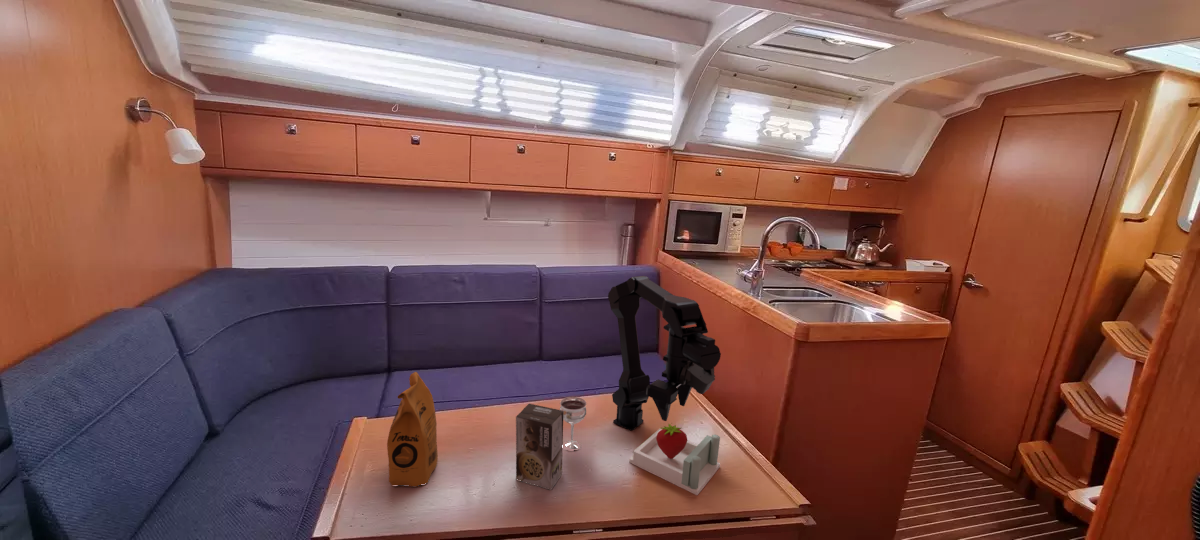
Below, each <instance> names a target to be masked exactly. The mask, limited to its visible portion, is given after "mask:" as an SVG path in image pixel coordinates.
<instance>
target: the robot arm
mask: <svg viewBox="0 0 1200 540" xmlns="http://www.w3.org/2000/svg"><path fill="white" fill-rule="evenodd" d="M607 299H608V302H609V306H610V310H611V311H612V313H613V314H614V316H615V317H616V318H617V325H618V326H617V327H618V335H619V343H620V352H621V360H622V361H621V362H622V369H623V370H622V372H621V375H620V377H619V379H618V389H617V390H616V391H614V392H613V393H612V394H611V395H612V402H613V403H614V404H615V405H616V407H617V408H616V417H615V419H613V421H612V423H613V424H615V425H618V426H620V427H621V428H624V429H627V430H628V431H634V430H635V429H637V427H639V426H640V425H642V424H643V423H644V419H643V414H644V413H643V411H644V410H643V409H642V408H643V406H642V405H643V404H647V402H648V400H649V398H651V399H652V401H653V402H654V404H655V406H656V409H657V411H658V414H659V416H660V419H661V420H662V421H663V422H667V421H668V418H669V414H670V410H671V406H672V404H673V403H674V402H676V401H677V400H678V402H679V405H680V406H682V407H685V406H686V402H687V400H688V398H689V395H690V393H691V392H692V391H691V390H692V389H694V390H695V391H696V393H698V394H700V395H704V394H705V392H707V391H708V390H710V389H711V388H710V387H711V386H712V384H713V383H714V382H715V380H716V378H715V377H716V375H715V368H716V366H717V365H718V364H719V362H720V360H721V354H722V353H721V350H720V347H719V346H718V345H716V339H715V338H713V337H709V336H707V335H705V334H708V333H709V330H708V328H707V323H706V321H705V319H704V316H703V314H702V313H703V312H702V310H701V308H700V305H699V303H698V302H697V301H696V300H694V299H691V298H689V297H685V296H678V295H674V294H672V293H671V292H670V291H668V290H666V289H664V288H663V287H662V286H660V285H658V284H657V283H656V282H654V281H652V280H650V278H649V277H648V276H646V275H641V276H640V275H639V276H638V275H637V276H632V277H630V278H628V279H627V280H626V281H623V282H621V283H619V284H617V285H615V286H612V287H611V289H610V290H609V291H608V294H607ZM640 299H644V300H645V301H647V302H648V303H650V304H651V305H653V306H654V307H655V308H657V309H658V310H659V311H660V312H661V316H662V318H663V320H664V321H666V322H667V324H665V325H664V326H663V329H664V330H665V331H667V332H668V338H667V339H668V340H667V348H666V349H667V350H666V354H665V355H664V356H662V360H663V361H665V370H663V371H661V377H662V378H666V380H667V381H665V380H661V379H656V380H654V381H653V382H651V377H650V376H649V374H646V373H645V372H644V370H643V369H642V365H641V358H640V356H641V355H640V347H639V339H638V330H637V320H636V315H637V313H638V311H639V309H640V305H641V302H640ZM693 325H694V326H693ZM686 326H689V327H686Z"/></svg>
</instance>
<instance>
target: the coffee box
mask: <svg viewBox="0 0 1200 540" xmlns="http://www.w3.org/2000/svg"><path fill="white" fill-rule="evenodd" d="M563 412H564V411H562V410H560V409H556V408H552V407H547V406H543V405H538V404H534V403H533V404H532V403H528V404H526V405H525V407H524V408H523V409H522V410H521V411H520V412H519V413H518V414H517V415H516V416H515V480H516V479H518V480H521V481H523V482H522V483H525V482H527V483H526V484H528V483H531V484H530V485H532V484H535V485H534V486H536V485H538V486H537V487H539V486H541V487H540V488H543V487H544V489H546V488H547V489H546V490H550V491H551V490H553V488H554V486H555V485H556V484H557V483H558V480H559V479H560V478H561V476H562V474H563V450H564V449H563V443H564V420H563ZM518 480H517V481H518ZM521 481H520V482H521Z"/></svg>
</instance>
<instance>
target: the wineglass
mask: <svg viewBox="0 0 1200 540" xmlns="http://www.w3.org/2000/svg"><path fill="white" fill-rule="evenodd" d="M559 404H560V408H559V410H562V411H564V412H563V422H566V423H568V424H570V440H571V441H569V440H567V441H568V442H567V443H565V446H566V447H568V448H570V449H578V448H579V447H580V444H581V443H580V442H579V441H578V442H579V443H578V442H577V440H574V428H575V425H576V424H579V423H581V422H582V420H584V419H585V417H586V415H587V401H586V400H585V399H584V398H582V397H578V396H567V397H564V398H563V399H561V400H560V403H559ZM573 440H574V441H573Z"/></svg>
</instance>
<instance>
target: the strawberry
mask: <svg viewBox="0 0 1200 540" xmlns="http://www.w3.org/2000/svg"><path fill="white" fill-rule="evenodd" d="M672 425H673V422H671V423H668V426H664V425H663V427H660V429H662V430H661V431H659V432H658V434H657V437H656V440H657V443H658V446H659V448H660V449H661V450H662V452H663V453H664V454H665V455H666V456H667V457H668V458H669V459H673V458H674V457H675V456H676V455H678V454H679V453H680V452H681V451H682V450H683V449H684V448H685V446H686V443H687V440H688V437H687V434H686V433H685V432H684V430H682V427H677V424H675V425H673V426H672Z"/></svg>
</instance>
